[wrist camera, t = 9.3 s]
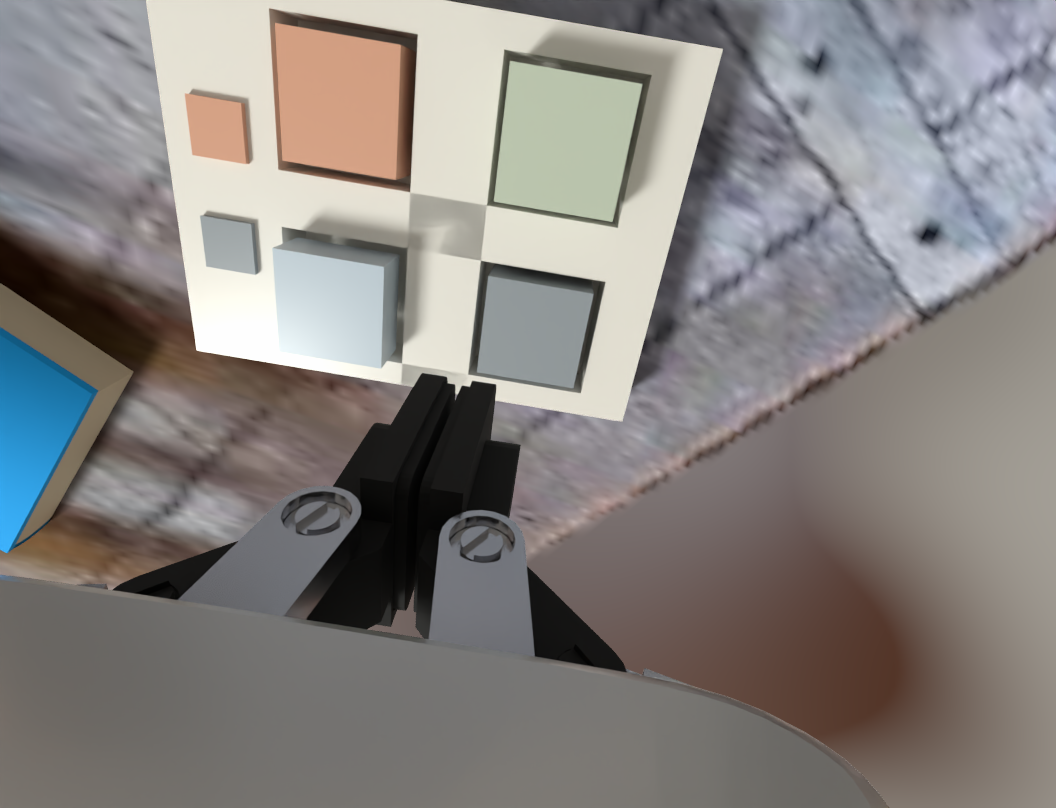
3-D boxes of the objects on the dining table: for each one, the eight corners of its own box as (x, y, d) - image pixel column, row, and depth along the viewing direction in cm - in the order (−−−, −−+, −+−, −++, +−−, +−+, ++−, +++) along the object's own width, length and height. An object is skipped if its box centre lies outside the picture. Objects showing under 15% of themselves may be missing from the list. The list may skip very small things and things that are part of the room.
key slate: (591, 280, 28) (593, 294, 25) (573, 368, 30) (573, 388, 28) (494, 263, 28) (488, 276, 25) (483, 353, 30) (476, 372, 28)
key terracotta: (416, 51, 24) (400, 44, 21) (410, 174, 26) (396, 179, 24) (302, 32, 24) (274, 22, 21) (307, 157, 26) (282, 160, 24)
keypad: (706, 57, 24) (724, 48, 21) (617, 396, 32) (622, 424, 29) (186, -34, 24) (132, -56, 21) (228, 331, 32) (193, 352, 29)
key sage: (635, 87, 22) (642, 84, 20) (608, 213, 25) (612, 222, 23) (516, 66, 22) (509, 61, 20) (500, 194, 25) (493, 201, 22)
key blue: (399, 254, 26) (383, 266, 24) (395, 349, 29) (381, 368, 26) (297, 237, 26) (272, 248, 24) (301, 333, 29) (279, 351, 26)
